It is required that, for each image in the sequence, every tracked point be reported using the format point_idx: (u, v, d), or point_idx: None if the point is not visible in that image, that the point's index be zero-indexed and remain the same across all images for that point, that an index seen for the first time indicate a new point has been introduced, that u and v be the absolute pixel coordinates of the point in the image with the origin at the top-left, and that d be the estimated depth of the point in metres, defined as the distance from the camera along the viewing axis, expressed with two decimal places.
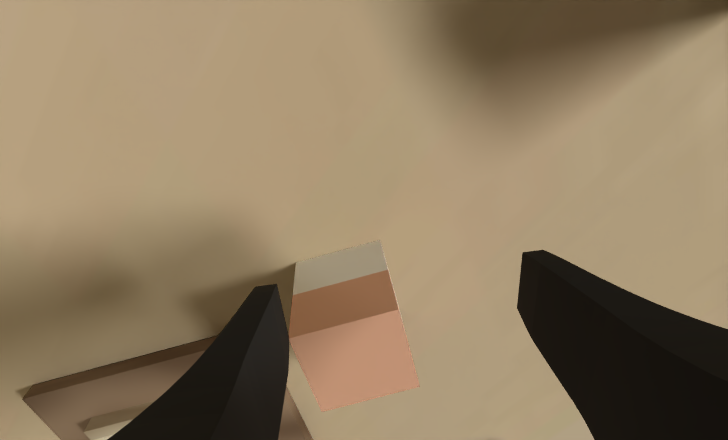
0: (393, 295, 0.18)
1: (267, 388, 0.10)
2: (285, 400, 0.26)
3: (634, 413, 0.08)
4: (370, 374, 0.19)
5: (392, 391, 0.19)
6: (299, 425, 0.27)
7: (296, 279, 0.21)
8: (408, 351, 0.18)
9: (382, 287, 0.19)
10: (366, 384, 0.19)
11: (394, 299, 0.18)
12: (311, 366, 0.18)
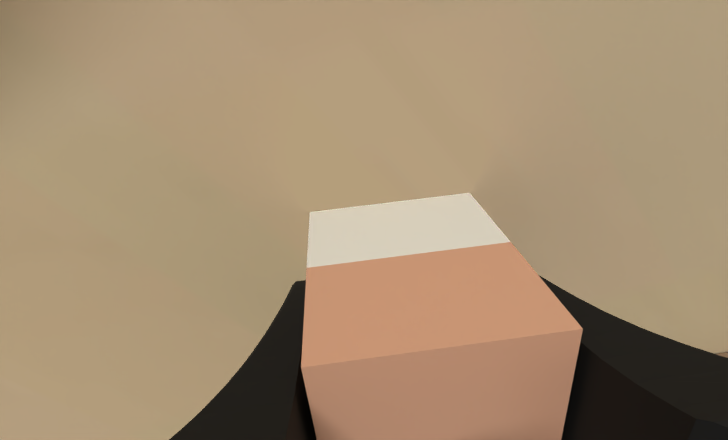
0: (303, 329, 0.08)
1: None
2: None
3: (577, 421, 0.08)
4: (487, 420, 0.08)
5: (565, 384, 0.08)
6: None
7: None
8: (447, 350, 0.07)
9: None
10: (514, 428, 0.08)
11: (303, 339, 0.07)
12: None
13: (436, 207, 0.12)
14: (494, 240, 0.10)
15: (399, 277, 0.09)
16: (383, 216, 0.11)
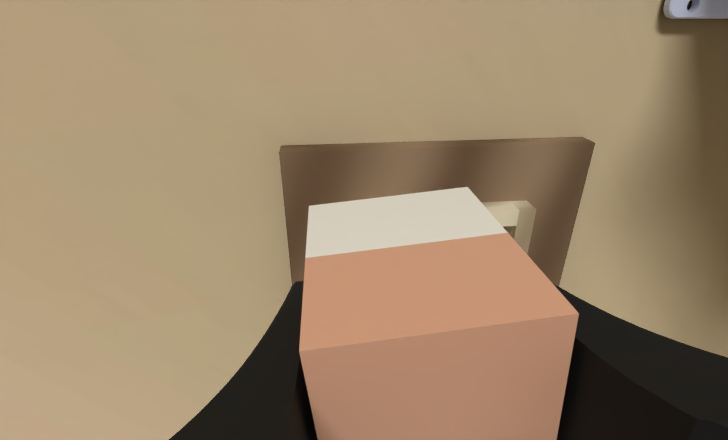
0: (301, 316, 0.08)
1: None
2: (407, 149, 0.18)
3: (578, 421, 0.08)
4: (484, 407, 0.08)
5: (561, 371, 0.08)
6: (467, 145, 0.18)
7: None
8: (443, 335, 0.07)
9: None
10: (511, 415, 0.08)
11: (301, 325, 0.07)
12: None
13: (434, 200, 0.12)
14: (491, 231, 0.10)
15: (397, 266, 0.09)
16: (381, 209, 0.12)
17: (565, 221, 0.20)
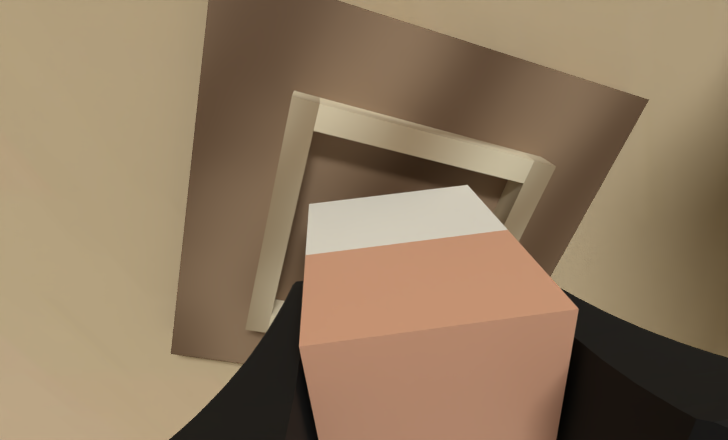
0: (301, 312, 0.08)
1: None
2: (407, 24, 0.12)
3: (577, 421, 0.08)
4: (484, 403, 0.08)
5: (561, 366, 0.08)
6: (489, 49, 0.13)
7: None
8: (443, 330, 0.07)
9: None
10: (511, 411, 0.08)
11: (301, 321, 0.07)
12: None
13: (434, 198, 0.12)
14: (491, 228, 0.10)
15: (397, 263, 0.09)
16: (381, 207, 0.12)
17: (578, 202, 0.15)
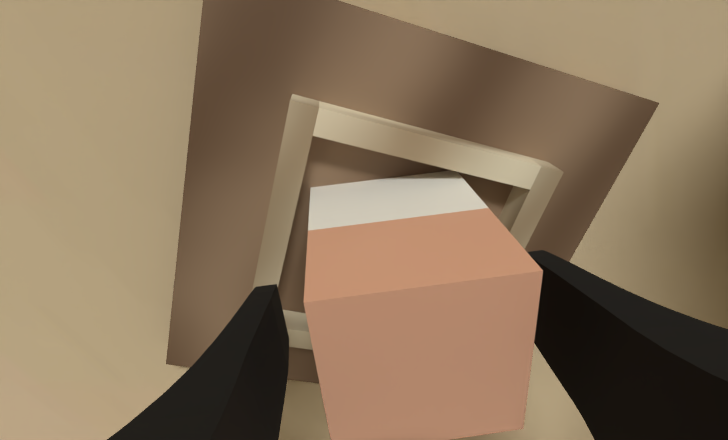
0: (305, 276, 0.09)
1: (267, 388, 0.10)
2: (410, 25, 0.12)
3: (634, 413, 0.08)
4: (464, 355, 0.09)
5: (530, 323, 0.09)
6: (494, 51, 0.12)
7: None
8: (427, 289, 0.08)
9: None
10: (488, 363, 0.09)
11: (305, 283, 0.09)
12: (406, 434, 0.10)
13: (425, 182, 0.13)
14: (474, 207, 0.11)
15: (389, 236, 0.10)
16: (377, 189, 0.13)
17: (586, 208, 0.15)
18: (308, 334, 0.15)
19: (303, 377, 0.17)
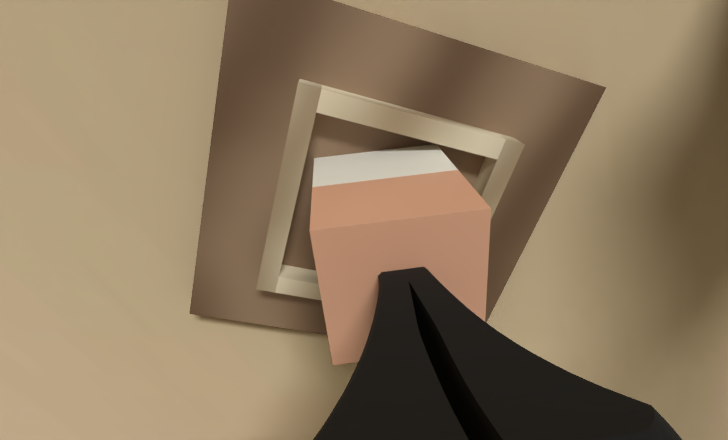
0: (310, 216, 0.12)
1: None
2: (396, 21, 0.14)
3: None
4: None
5: (484, 251, 0.11)
6: (466, 43, 0.15)
7: None
8: (402, 221, 0.11)
9: None
10: (452, 285, 0.12)
11: (310, 220, 0.11)
12: None
13: (409, 153, 0.15)
14: (446, 169, 0.14)
15: (376, 189, 0.13)
16: (369, 158, 0.15)
17: (548, 178, 0.17)
18: (312, 285, 0.17)
19: (307, 327, 0.20)
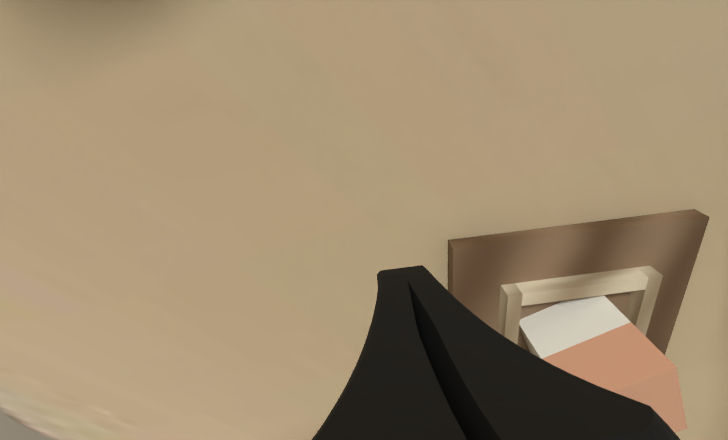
0: None
1: None
2: (555, 236, 0.22)
3: None
4: None
5: (676, 386, 0.19)
6: (602, 229, 0.22)
7: None
8: (625, 388, 0.19)
9: None
10: (660, 406, 0.19)
11: None
12: None
13: (582, 303, 0.23)
14: (622, 322, 0.21)
15: (587, 355, 0.20)
16: (558, 316, 0.23)
17: (681, 278, 0.24)
18: None
19: None
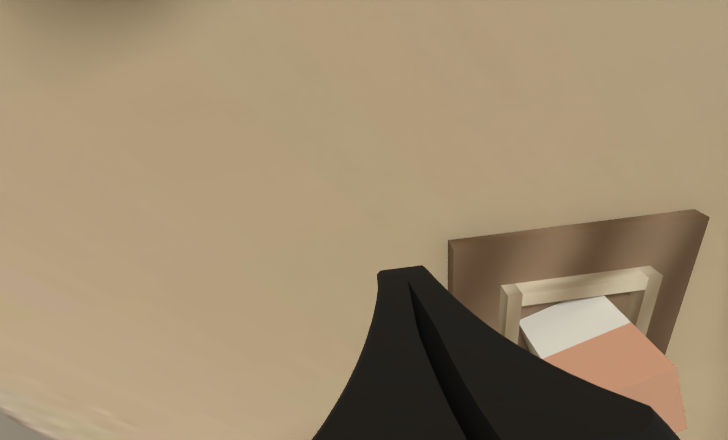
0: None
1: None
2: (555, 237, 0.22)
3: None
4: None
5: (676, 386, 0.19)
6: (602, 229, 0.22)
7: None
8: (625, 388, 0.19)
9: None
10: (660, 407, 0.19)
11: None
12: None
13: (583, 303, 0.23)
14: (622, 322, 0.21)
15: (587, 355, 0.20)
16: (558, 316, 0.23)
17: (681, 278, 0.24)
18: None
19: None
